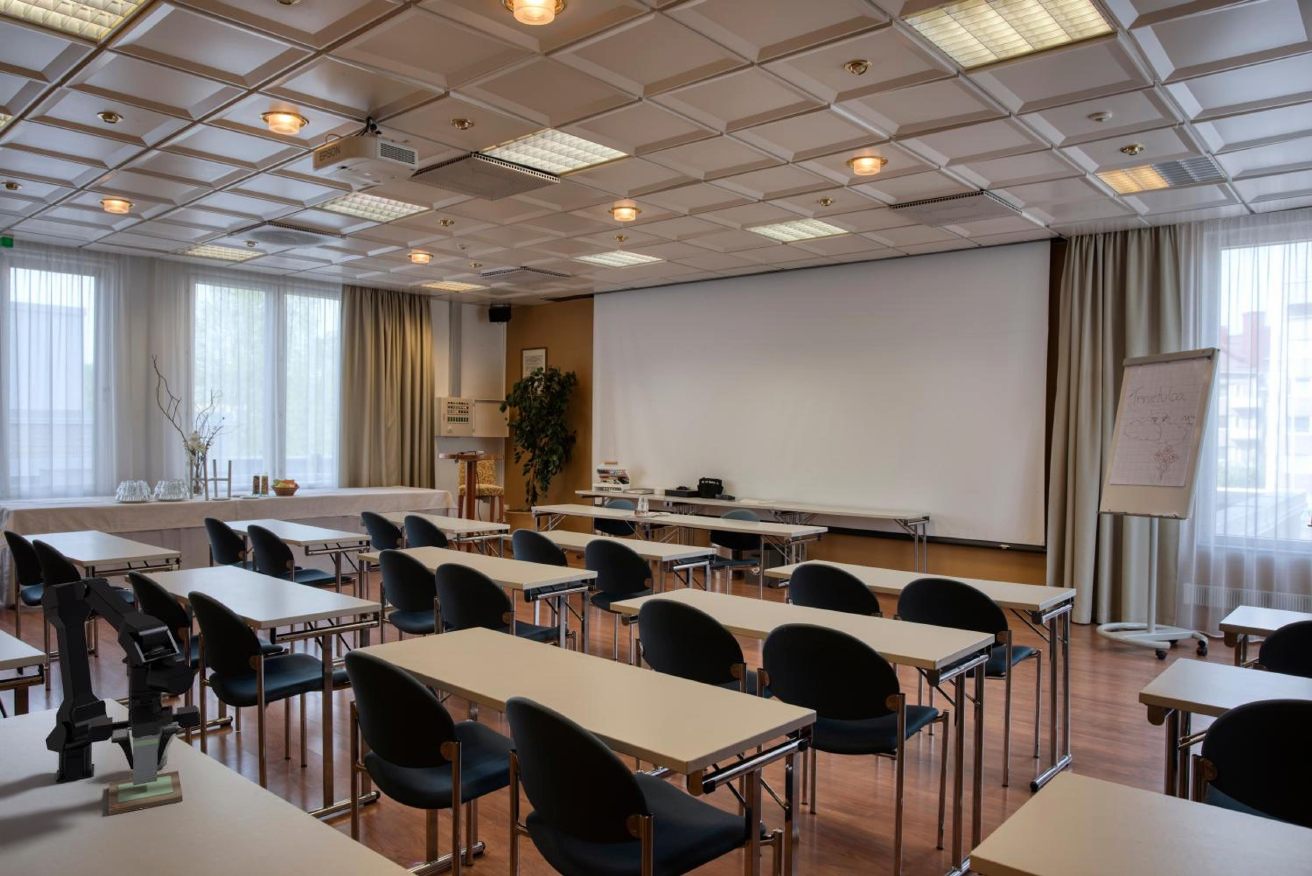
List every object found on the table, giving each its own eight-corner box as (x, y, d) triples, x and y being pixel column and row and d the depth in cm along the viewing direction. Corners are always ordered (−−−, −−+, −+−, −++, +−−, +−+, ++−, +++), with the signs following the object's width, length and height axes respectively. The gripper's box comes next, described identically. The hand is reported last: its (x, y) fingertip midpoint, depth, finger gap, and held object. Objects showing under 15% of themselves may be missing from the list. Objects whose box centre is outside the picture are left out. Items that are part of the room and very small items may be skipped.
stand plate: (109, 788, 170) (109, 782, 170) (178, 775, 177) (178, 769, 177) (108, 815, 158) (108, 809, 158) (182, 801, 165) (182, 795, 165)
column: (132, 778, 168) (132, 732, 168) (156, 773, 170) (157, 728, 170) (132, 785, 165) (133, 739, 165) (157, 781, 167) (157, 735, 167)
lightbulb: (142, 776, 176) (142, 723, 176) (144, 765, 181) (144, 714, 181) (176, 771, 179) (176, 719, 179) (177, 761, 184) (177, 710, 184)
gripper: (87, 707, 155) (86, 792, 156) (202, 691, 165) (202, 771, 166) (88, 690, 165) (88, 770, 165) (198, 676, 175) (197, 752, 175)
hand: (145, 766), depth 167 cm, fingers closed on column, 4 cm apart
